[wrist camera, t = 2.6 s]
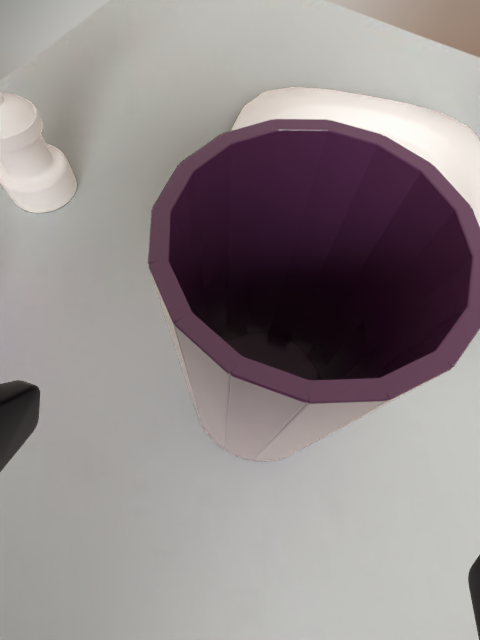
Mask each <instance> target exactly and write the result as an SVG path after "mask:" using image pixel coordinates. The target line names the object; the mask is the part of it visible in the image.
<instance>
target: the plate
mask: <svg viewBox="0 0 480 640" xmlns="http://www.w3.org/2000/svg"><path fill="white" fill-rule="evenodd" d="M271 119H272V120H274V119H327V120H328V121H329V120H332V121H336V122H339V123H343V124H347V125H350V126H354V127H357V128H361V129H365V130H368V131H372V132H375V133H379V134H382V135H383V136H386V137H388V138H390V139H391V140H393V141H395V142H396V143H398V144H400V145H402V146H403V147H405V148H407V149H408V150H410V151H412V152H413V153H415V154H417V155H418V156H420V157H422V158H423V159H425V160H427V161H428V162H430V163H431V164H432V165H434V166H435V167H436V168H437V169H438V170H439V171H440V172H441V174H442V175H443V176H444V177H445V178H446V179H447V180H448V181H449V182H450V183H451V185H452V186H453V187H454V188H455V189H456V190H457V191H458V192H459V193H460V194H461V196H462V197H463V198H464V199H465V200H466V201H467V202H468V203H469V204H470V206H471V208H472V209H473V211H474V214H475V216H476V219H477V221H478V224H479V227H480V140H479V138H478V137H477V136H476V135H475V133H474V132H473V131H472V130H471V128H470V127H468V126H466V125H464V124H462V123H460V122H458V121H456V120H455V119H453V118H451V117H449V116H447V115H445V114H443V113H441V112H438V111H434V110H430V109H426V108H422V107H419V106H415V105H411V104H407V103H403V102H398V101H392V100H387V99H382V98H376V97H371V96H366V95H359V94H353V93H347V92H341V91H335V90H328V89H317V88H306V87H289V88H282V89H276V90H269V91H264V92H263V93H261V94H260V95H259V96H257V97H256V98H255V99H253V100H252V101H251V102H249V103H248V104H247V105H245V106H244V107H243V108H242V110H241V112H240V114H239V116H238V118H237V120H236V122H235V123H234V125H233V127H232V129H231V131H232V130H236V129H239V128H243V127H247V126H250V125H254V124H257V123H261V122H264V121H268V120H271Z"/></svg>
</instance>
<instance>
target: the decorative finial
mask: <svg viewBox="0 0 480 640" xmlns="http://www.w3.org/2000/svg"><path fill="white" fill-rule="evenodd" d="M42 130H43V122H42V120H41V118H40V116H39V114H38V112H37V109H36V107H35V106H34V104H33V103H32V102H30V101H29V100H27V99H25V98H22V97H19V96H17V95H15V94H11V93H1V92H0V183H1V184H2V186H3V187H4V188H5V190H6V191H7V193H8V194H9V195H10V197H11V198H12V200H13V201H14V202H15V204H16V205H17V206H18V207H20V208H21V209H23V210H25V211H29V212H34V213H43V212H49V211H53V210H56V209H58V208H60V207H62V206H64V205H65V204H66V203H68V202H69V201H70V200H71V199H72V197H73V196H74V194H75V192H76V189H77V181H76V178H75V176H74V174H73V172H72V170H71V167H70V165H69V163H68V161H67V159H66V157H65V155H64V154H63V153H62V152H61V151H60V150H59V149H58V148H56V147H54V146H52V145H50V144H46V143H45V141H44V139H43V137H42V135H41V132H42Z"/></svg>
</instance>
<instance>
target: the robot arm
mask: <svg viewBox="0 0 480 640" xmlns="http://www.w3.org/2000/svg"><path fill="white" fill-rule="evenodd" d="M39 404H40V390H39V388H38V387H37V386H36V385H33V384H30V383H27V382H24V381H19V380H18V381H12V382H8V383H3V384H0V472H1V471H2V469H3V468H4V467H5V466H6V464H7V463H8V462H9V461H10V459H11V458H12V457H13V456H14V455H15V453H16V452H17V451H18V450H19V448H20V447H21V446H22V445H23V443H24V442H25V441H26V440H27V439H28V437H29V436H30V435H31V434H32V432H33V431H34V429H35V428H36V426H37V423H38V419H39ZM468 581H469V588H470V594H471V599H472V604H473V609H474V615H475V620H476V625H477V631H478V636H479V640H480V555H479V556H478V558H477V559H476V561H475V562H474V564H473V565H472V567H471V568H470V571H469V577H468Z"/></svg>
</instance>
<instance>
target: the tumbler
mask: <svg viewBox="0 0 480 640" xmlns="http://www.w3.org/2000/svg"><path fill="white" fill-rule="evenodd" d="M148 265H149V270H150V273H151V276H152V279H153V282H154V285H155V288H156V291H157V294H158V298H159V301H160V304H161V307H162V310H163V313H164V316H165V319H166V322H167V325H168V328H169V331H170V334H171V337H172V341H173V344H174V347H175V350H176V353H177V356H178V359H179V362H180V365H181V368H182V371H183V374H184V377H185V380H186V384H187V387H188V390H189V393H190V396H191V399H192V402H193V405H194V407H195V410H196V412H197V415H198V417H199V420H200V422H201V424H202V427H203V429H204V430H205V431H206V432H207V434H208V435H209V436H210V438H211V439H212V440H213V441H214V442H215V443H216V444H217V445H219V446H220V447H221V448H222V449H224V450H225V451H227V452H228V453H230V454H232V455H235V456H237V457H240V458H243V459H246V460H251V461H273V460H280V459H283V458H285V457H287V456H289V455H291V454H293V453H295V452H297V451H299V450H301V449H303V448H305V447H307V446H309V445H311V444H312V443H314V442H316V441H318V440H320V439H322V438H324V437H326V436H327V435H329V434H331V433H333V432H335V431H337V430H339V429H340V428H342V427H344V426H346V425H348V424H350V423H352V422H354V421H355V420H357V419H359V418H361V417H363V416H365V415H367V414H369V413H370V412H372V411H374V410H376V409H378V408H380V407H382V406H384V405H385V404H387V403H389V402H391V401H393V400H395V399H397V398H399V397H400V396H402V395H404V394H406V393H408V392H410V391H412V390H414V389H415V388H417V387H419V386H421V385H423V384H425V383H427V382H429V381H430V380H432V379H434V378H436V377H438V376H440V375H442V374H444V373H445V372H447V371H449V370H451V368H452V367H454V366H455V365H456V363H457V362H458V360H459V359H460V357H461V356H462V354H463V353H464V351H465V350H466V348H467V347H468V345H469V344H470V343H471V341H472V340H473V338H474V337H475V335H476V334H477V332H478V331H479V329H480V227H479V224H478V221H477V219H476V216H475V214H474V211H473V209H472V208H471V206H470V204H469V203H468V202H467V201H466V200H465V199H464V198H463V197H462V196H461V194H460V193H459V192H458V191H457V190H456V189H455V188H454V187H453V186H452V185H451V183H450V182H449V181H448V180H447V179H446V178H445V177H444V176H443V175H442V174H441V172H440V171H439V170H438V169H437V168H436V167H435V166H434V165H432V164H431V163H430V162H428V161H427V160H425V159H423V158H422V157H420V156H418V155H417V154H415V153H413V152H412V151H410V150H408V149H407V148H405V147H403V146H402V145H400V144H398V143H396V142H395V141H393V140H391V139H390V138H388V137H386V136H383V135H382V134H379V133H375V132H372V131H368V130H365V129H361V128H357V127H354V126H350V125H347V124H343V123H339V122H336V121H332V120H329V121H328V120H327V119H274V120H272V119H271V120H268V121H264V122H261V123H257V124H254V125H250V126H247V127H243V128H239V129H236V130H232V131H229V132H225V133H223V134H220V135H219V136H217V137H216V138H215V139H213V140H212V141H210V142H209V143H207V144H206V145H205V146H203V147H202V148H200V149H199V150H197V151H196V152H195V153H193V154H192V155H190V156H189V157H188V158H186V159H185V160H183V161H182V162H181V163H180V164H179V165H178V166H177V168H176V169H175V171H174V173H173V174H172V176H171V178H170V179H169V181H168V183H167V184H166V186H165V187H164V189H163V191H162V192H161V194H160V196H159V197H158V199H157V201H156V202H155V204H154V206H153V209H152V211H151V225H150V239H149V253H148Z"/></svg>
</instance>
